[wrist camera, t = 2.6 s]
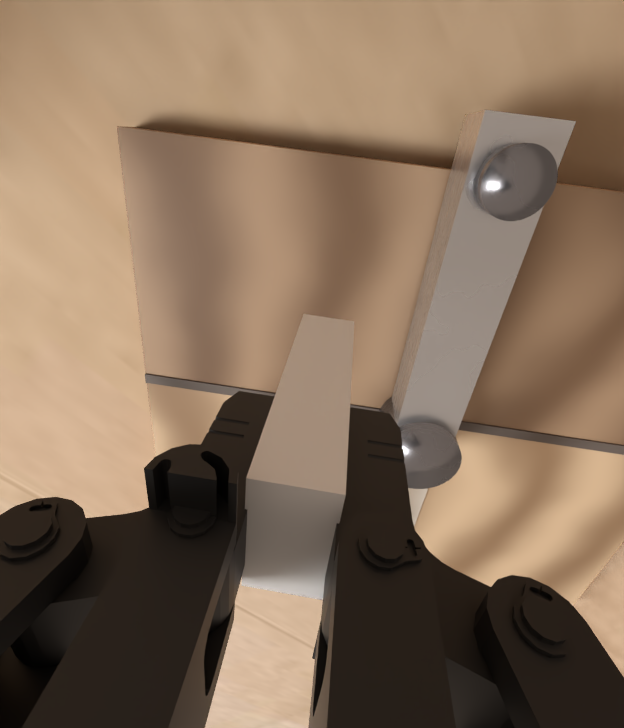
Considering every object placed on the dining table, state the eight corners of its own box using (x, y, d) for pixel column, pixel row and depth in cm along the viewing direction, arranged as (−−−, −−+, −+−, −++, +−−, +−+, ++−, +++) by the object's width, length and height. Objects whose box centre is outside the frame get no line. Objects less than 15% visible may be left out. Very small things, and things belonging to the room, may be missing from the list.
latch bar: (437, 449, 24) (450, 500, 21) (371, 439, 24) (374, 488, 21) (553, 125, 16) (607, 122, 12) (452, 113, 16) (478, 105, 12)
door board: (174, 536, 34) (150, 589, 30) (134, 127, 19) (74, 123, 15) (554, 597, 33) (581, 661, 29) (835, 219, 18) (974, 242, 14)
